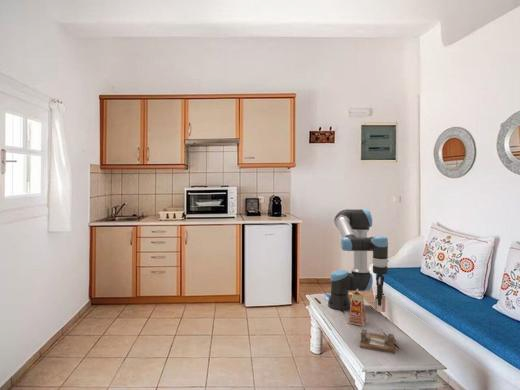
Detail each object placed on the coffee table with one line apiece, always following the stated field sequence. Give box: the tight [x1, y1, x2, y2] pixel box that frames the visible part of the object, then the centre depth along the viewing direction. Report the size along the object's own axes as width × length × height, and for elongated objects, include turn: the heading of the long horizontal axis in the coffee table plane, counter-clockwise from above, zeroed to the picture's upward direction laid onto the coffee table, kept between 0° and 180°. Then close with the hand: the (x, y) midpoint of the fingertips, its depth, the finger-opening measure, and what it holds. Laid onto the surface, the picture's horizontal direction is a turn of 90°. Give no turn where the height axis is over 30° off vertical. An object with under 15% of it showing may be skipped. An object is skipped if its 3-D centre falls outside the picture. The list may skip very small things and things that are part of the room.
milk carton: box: [347, 289, 367, 327], centre depth 199 cm, size 9×9×20 cm
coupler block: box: [374, 294, 386, 313], centre depth 179 cm, size 5×5×7 cm
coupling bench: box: [359, 329, 396, 354], centre depth 172 cm, size 16×16×6 cm
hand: (379, 309), depth 179 cm, fingers closed on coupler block, 5 cm apart
